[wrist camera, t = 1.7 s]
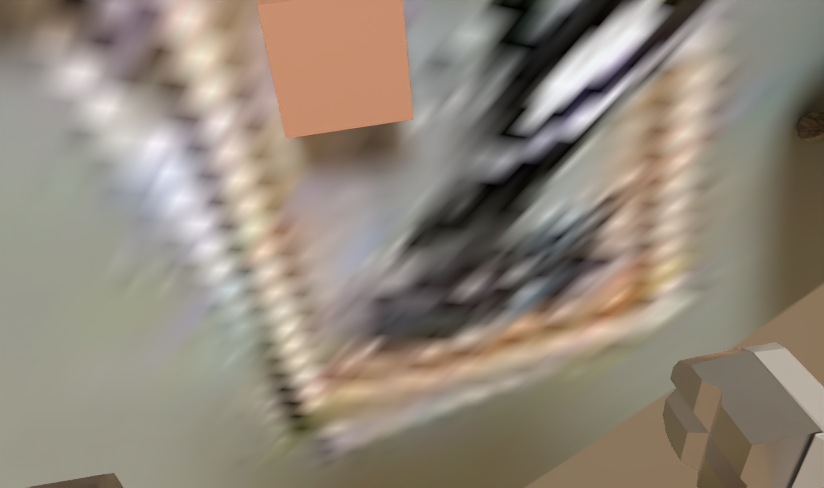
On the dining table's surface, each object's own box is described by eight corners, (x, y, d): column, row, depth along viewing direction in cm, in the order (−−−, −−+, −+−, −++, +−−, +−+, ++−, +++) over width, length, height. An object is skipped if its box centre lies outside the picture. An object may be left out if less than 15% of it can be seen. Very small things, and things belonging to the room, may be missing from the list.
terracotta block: (382, -43, 26) (401, -14, 22) (394, 75, 29) (413, 119, 25) (260, -27, 26) (257, 5, 22) (284, 91, 29) (285, 138, 25)
